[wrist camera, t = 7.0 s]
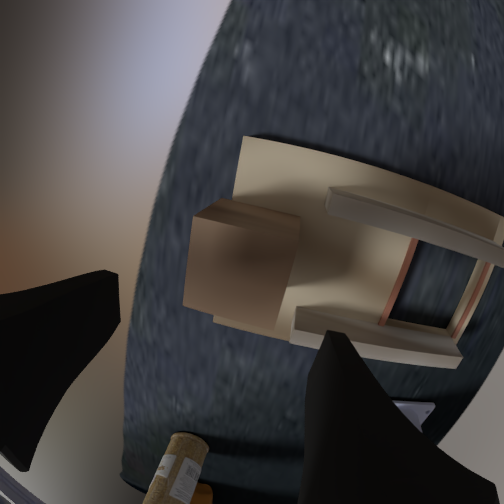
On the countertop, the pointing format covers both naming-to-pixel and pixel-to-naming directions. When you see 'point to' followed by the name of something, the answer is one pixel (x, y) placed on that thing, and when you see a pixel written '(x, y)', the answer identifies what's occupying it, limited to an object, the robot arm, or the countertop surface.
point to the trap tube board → (363, 249)
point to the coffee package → (202, 494)
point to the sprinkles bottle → (178, 470)
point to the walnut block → (240, 261)
